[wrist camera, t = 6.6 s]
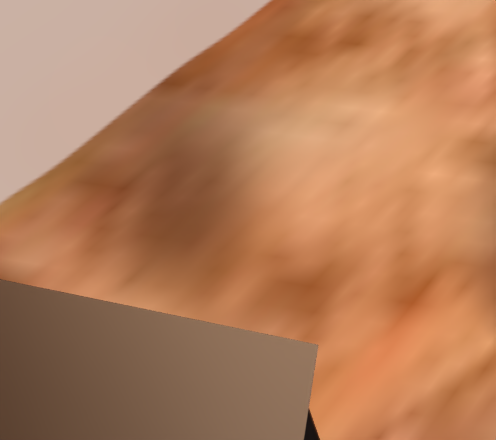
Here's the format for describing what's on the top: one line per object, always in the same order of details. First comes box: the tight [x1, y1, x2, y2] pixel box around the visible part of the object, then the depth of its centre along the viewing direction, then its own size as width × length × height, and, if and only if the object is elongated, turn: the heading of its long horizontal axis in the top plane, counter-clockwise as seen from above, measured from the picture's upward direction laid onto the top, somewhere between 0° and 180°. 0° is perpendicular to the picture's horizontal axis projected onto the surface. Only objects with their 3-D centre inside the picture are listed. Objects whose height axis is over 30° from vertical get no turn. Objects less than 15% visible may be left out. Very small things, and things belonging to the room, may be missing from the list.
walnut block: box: [0, 279, 318, 440], centre depth 9 cm, size 5×5×13 cm
